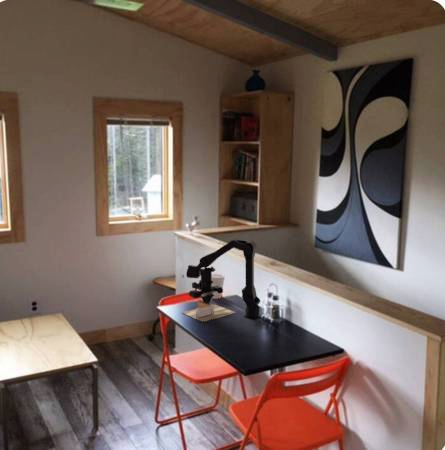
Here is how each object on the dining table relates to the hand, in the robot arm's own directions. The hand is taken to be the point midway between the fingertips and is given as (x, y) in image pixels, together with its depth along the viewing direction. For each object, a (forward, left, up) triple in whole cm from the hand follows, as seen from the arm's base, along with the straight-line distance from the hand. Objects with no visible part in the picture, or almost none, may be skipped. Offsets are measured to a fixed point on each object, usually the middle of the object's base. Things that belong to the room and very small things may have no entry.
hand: (206, 307), depth 282 cm
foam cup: (+16, -21, -2) cm, 26 cm away
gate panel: (-1, +2, -1) cm, 3 cm away
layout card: (-4, +2, -2) cm, 5 cm away
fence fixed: (-7, +7, -2) cm, 10 cm away
